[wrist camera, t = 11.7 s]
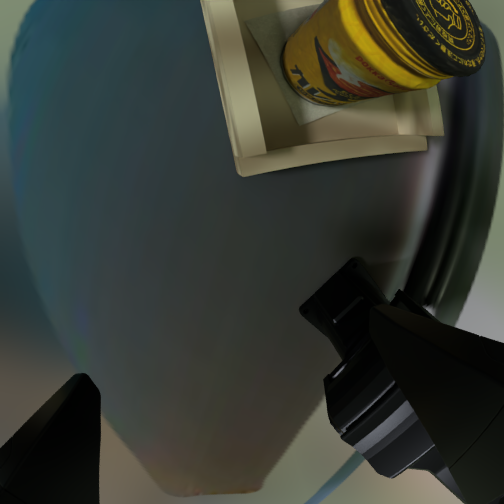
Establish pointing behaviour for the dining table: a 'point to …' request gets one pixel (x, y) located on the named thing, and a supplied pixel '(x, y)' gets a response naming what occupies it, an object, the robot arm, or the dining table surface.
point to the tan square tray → (279, 111)
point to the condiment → (366, 50)
